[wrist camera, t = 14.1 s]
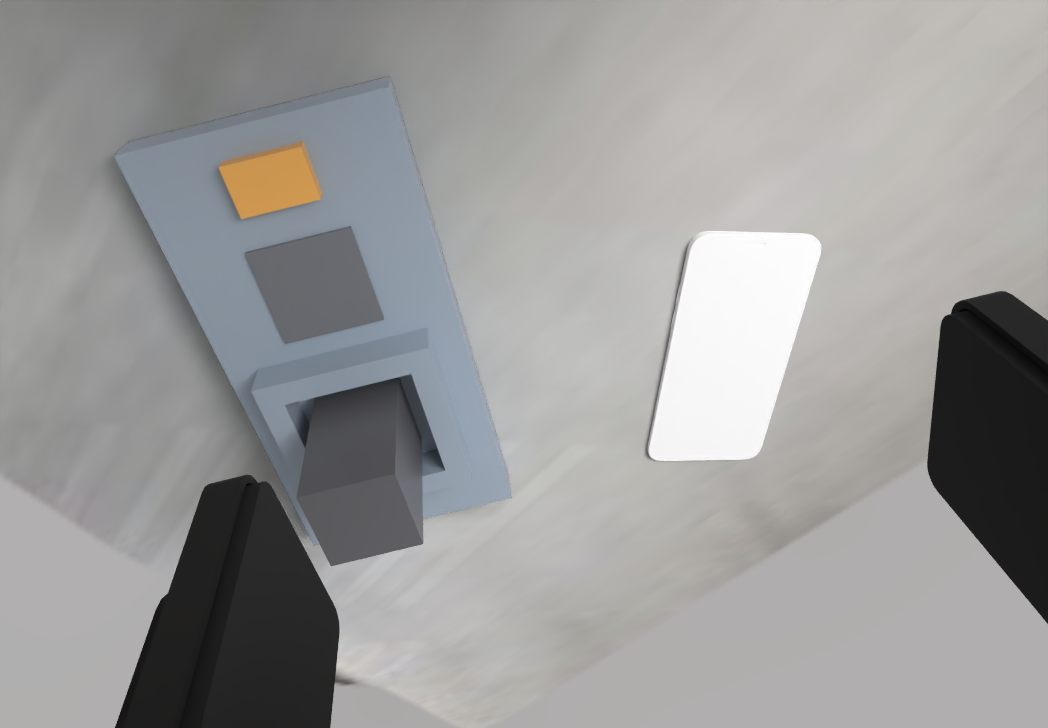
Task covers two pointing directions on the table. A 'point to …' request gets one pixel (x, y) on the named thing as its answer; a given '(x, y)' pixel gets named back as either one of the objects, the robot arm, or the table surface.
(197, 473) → the table surface
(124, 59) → the table surface
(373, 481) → the block
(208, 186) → the blue-grey fixture board
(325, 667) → the robot arm
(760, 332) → the smartphone
